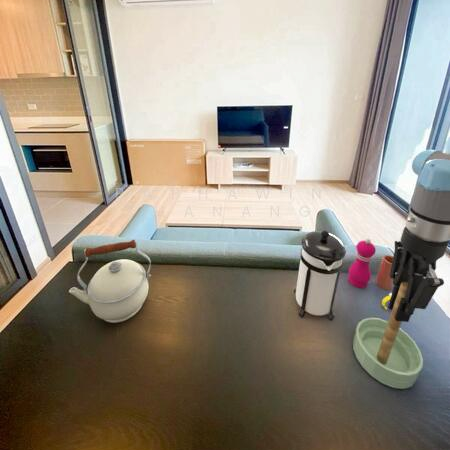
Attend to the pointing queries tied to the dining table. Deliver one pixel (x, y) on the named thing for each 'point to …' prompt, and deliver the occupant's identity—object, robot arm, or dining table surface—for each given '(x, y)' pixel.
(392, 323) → the stirring stick
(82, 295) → the kettle
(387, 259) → the utensil pot
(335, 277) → the coffee press
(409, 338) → the bowl
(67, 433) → the dining table surface
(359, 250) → the pepper mill
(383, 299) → the watch
